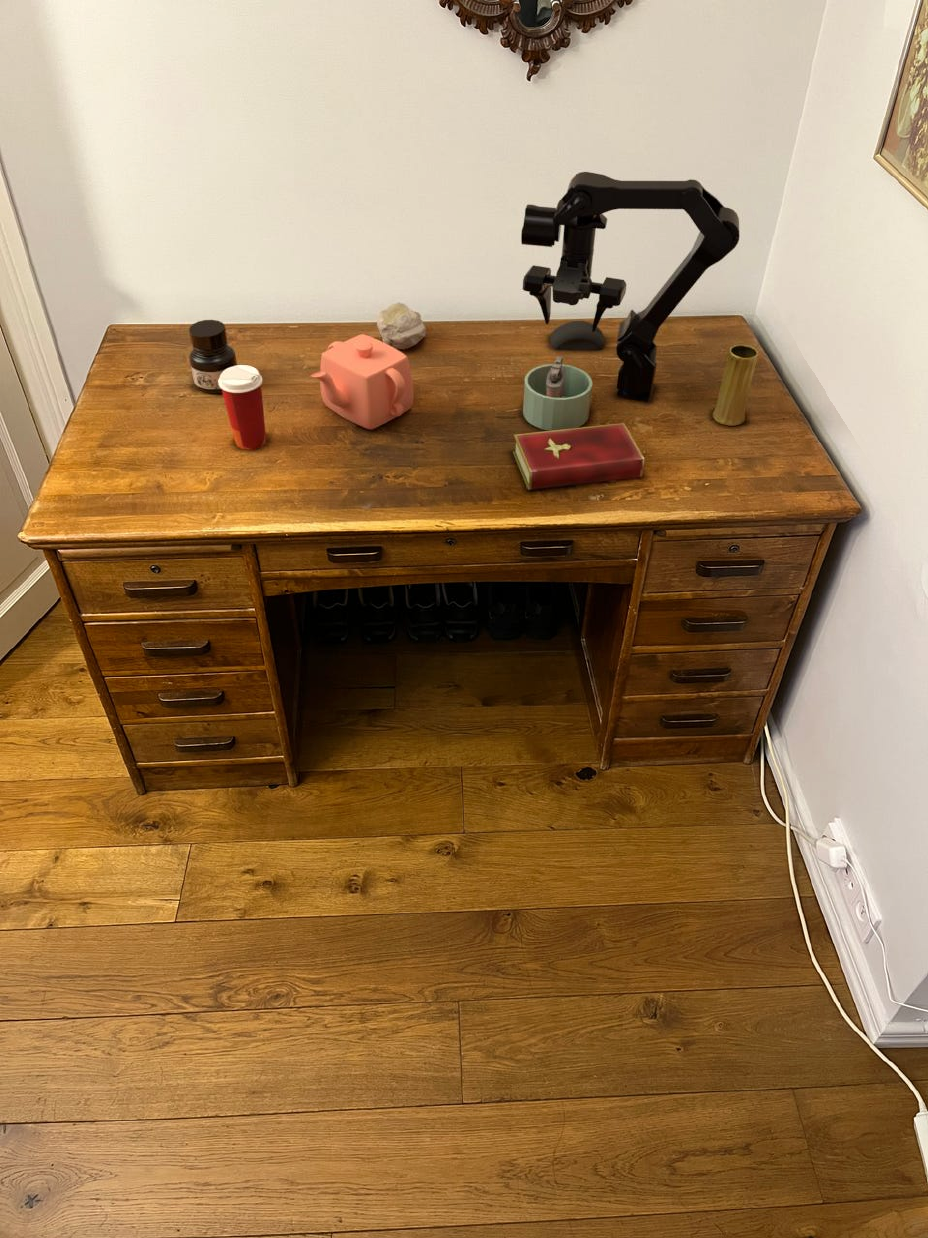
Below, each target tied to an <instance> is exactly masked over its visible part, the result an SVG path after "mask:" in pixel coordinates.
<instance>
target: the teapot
mask: <svg viewBox="0 0 928 1238" xmlns="http://www.w3.org/2000/svg"><path fill="white" fill-rule="evenodd" d="M310 377H311V378H313V379H318V380H319V385H320V388H319V389H320V396H321V398H322V401H323V403H324V405H325V406H326V407H327V408H329V409H330V410H331V411H333V412H334V413H335V414H337V415H339V416H340V417H342V418H344V419H345V420H348V421H349V422H351V423H352V424H353V423H354V424H355V425H357V426H360V427H362V428H364V429H366V430H375V429H376V428H379V427H380V426H382V425H384V424H386V423H389V422H390V421H392V420H393V419H395V418H398V417H400V416H402V415H403V414H404V413H405V412H407V411H408V410H410V409H412V408H413V405H414V399H415V396H414V395H415V393H414V392H415V390H414V382H413V381H414V380H413V376H412V370H411V366H410V363H409V357H408V356H407V355H406V354H405V353H403V352H402V351H400V350H399V349H396V348H394V347H391V346H389V345H388V344H386V343H384V342H383V341H381V340H379V339H377V338H374V337H373V336H369V335H368V334H363V333H360V334H359V335H356V336H353V337H351V338H349V339H347V340H345V341H341V340H337V341H333V342H331V343H330V344H329V346H328V347H327V350H325V351H323V352H322V353H321V360H320V369H319V371H316V372H314V373H312V374H311V375H310Z"/></svg>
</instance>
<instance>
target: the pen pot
mask: <svg viewBox="0 0 928 1238" xmlns="http://www.w3.org/2000/svg"><path fill="white" fill-rule="evenodd" d="M553 364H554V363H548V364H542V365H539V366H537V367H533V368H532V369H531V370H529V371H528V372H527V374H526V375H525V377H524V382H523V397H522V398H523V399H522V414H523V417H524V419H525V420H526V421H527V422H528V423H529V424H530V425H532V426H534V427H535V428H538V429H541V430H543V431H553V430H562V429H572V428H581V427H583V425H584V424H585V423H586V422H587V421H588V420H589V415H590V411H591V401H592V394H593V378H591V376H590V375H589V373H587V372H586V371H584V370H583V369H581V368H578V367H576V366H573V365H568V364H563V363H562V366H564V367H565V368H566V378H565V389H564V393H563V398H554V397H548V396H546V394H547V387H546V381H547V375H548V373H549V371H550V370H551V368H552V366H553Z"/></svg>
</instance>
